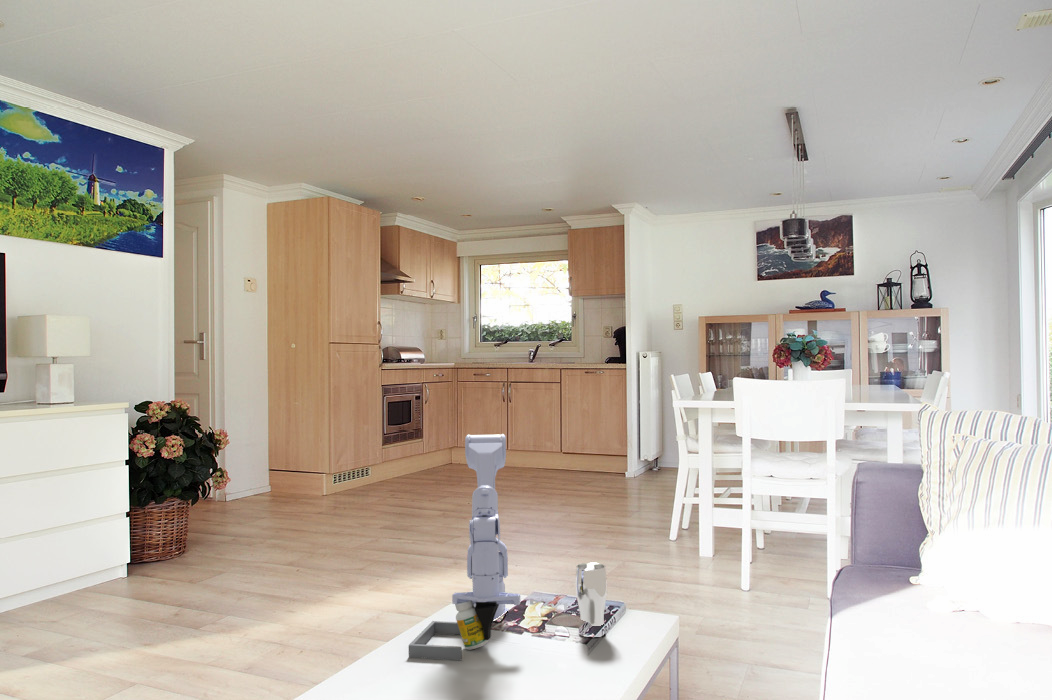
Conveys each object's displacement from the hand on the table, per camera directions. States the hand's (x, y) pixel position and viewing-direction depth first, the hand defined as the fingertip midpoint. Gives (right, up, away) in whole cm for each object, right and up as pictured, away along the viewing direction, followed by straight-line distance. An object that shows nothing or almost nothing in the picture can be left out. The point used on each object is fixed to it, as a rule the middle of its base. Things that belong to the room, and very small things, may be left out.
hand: (487, 638), depth 158 cm
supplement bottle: (-2, -2, +1) cm, 3 cm away
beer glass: (+23, -3, +9) cm, 25 cm away
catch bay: (-9, -3, +3) cm, 9 cm away
